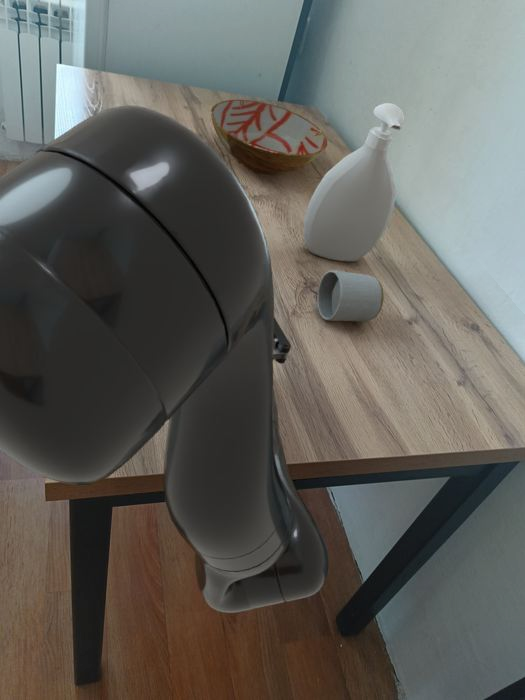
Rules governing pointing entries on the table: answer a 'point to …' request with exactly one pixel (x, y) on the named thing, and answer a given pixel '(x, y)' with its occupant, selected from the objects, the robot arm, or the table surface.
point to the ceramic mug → (349, 296)
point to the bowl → (266, 136)
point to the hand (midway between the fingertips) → (222, 293)
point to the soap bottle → (355, 196)
